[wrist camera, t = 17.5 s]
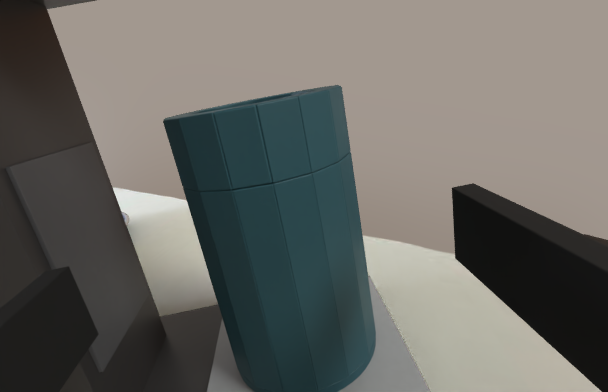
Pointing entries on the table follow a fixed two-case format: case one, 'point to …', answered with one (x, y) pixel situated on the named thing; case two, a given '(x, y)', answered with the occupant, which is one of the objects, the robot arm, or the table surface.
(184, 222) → the table surface
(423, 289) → the table surface
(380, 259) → the table surface
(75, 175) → the coffee maker
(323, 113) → the teal tumbler
